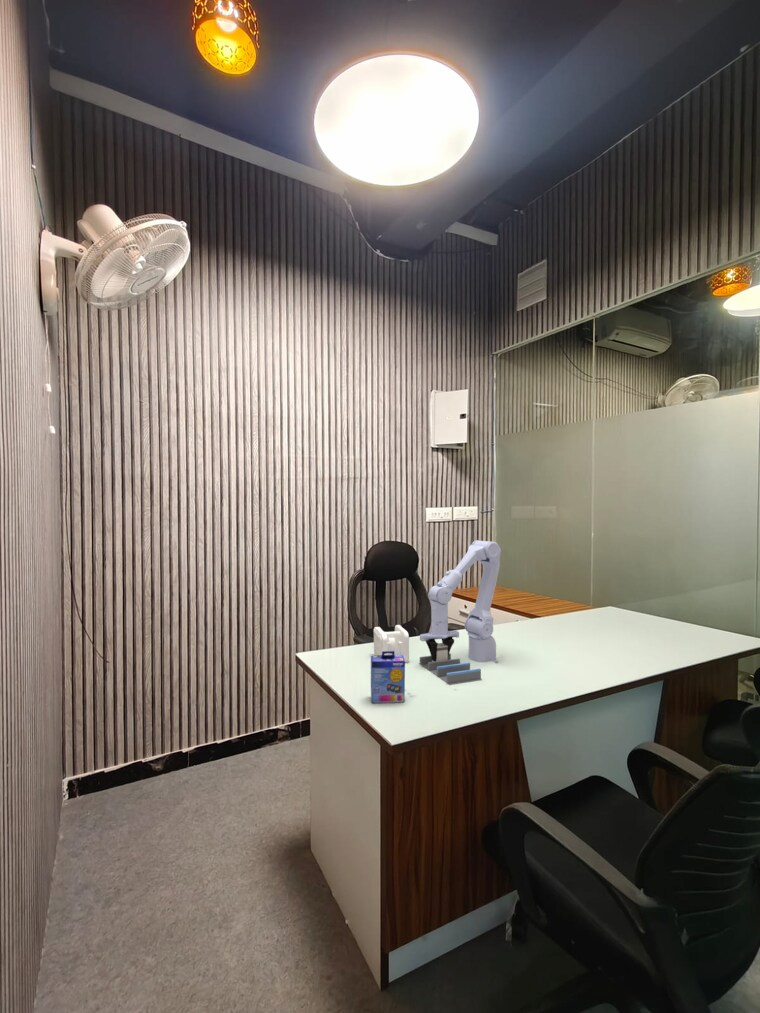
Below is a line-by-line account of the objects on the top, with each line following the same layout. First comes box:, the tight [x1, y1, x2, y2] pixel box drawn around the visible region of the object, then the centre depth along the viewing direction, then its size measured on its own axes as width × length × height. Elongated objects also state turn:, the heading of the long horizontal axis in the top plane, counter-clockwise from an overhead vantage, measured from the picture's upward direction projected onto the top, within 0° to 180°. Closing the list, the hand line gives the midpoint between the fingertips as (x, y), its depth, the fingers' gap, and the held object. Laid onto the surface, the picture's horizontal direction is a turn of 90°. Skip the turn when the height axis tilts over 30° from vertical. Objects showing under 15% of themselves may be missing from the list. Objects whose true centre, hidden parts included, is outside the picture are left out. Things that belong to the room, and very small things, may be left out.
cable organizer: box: [372, 624, 410, 663], centre depth 167 cm, size 15×11×12 cm
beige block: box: [432, 642, 448, 662], centre depth 159 cm, size 4×4×7 cm
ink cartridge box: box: [370, 651, 406, 704], centre depth 132 cm, size 10×6×14 cm, turn 95°
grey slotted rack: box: [418, 652, 483, 686], centre depth 153 cm, size 12×22×4 cm, turn 21°
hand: (439, 659), depth 159 cm, fingers closed on beige block, 4 cm apart
